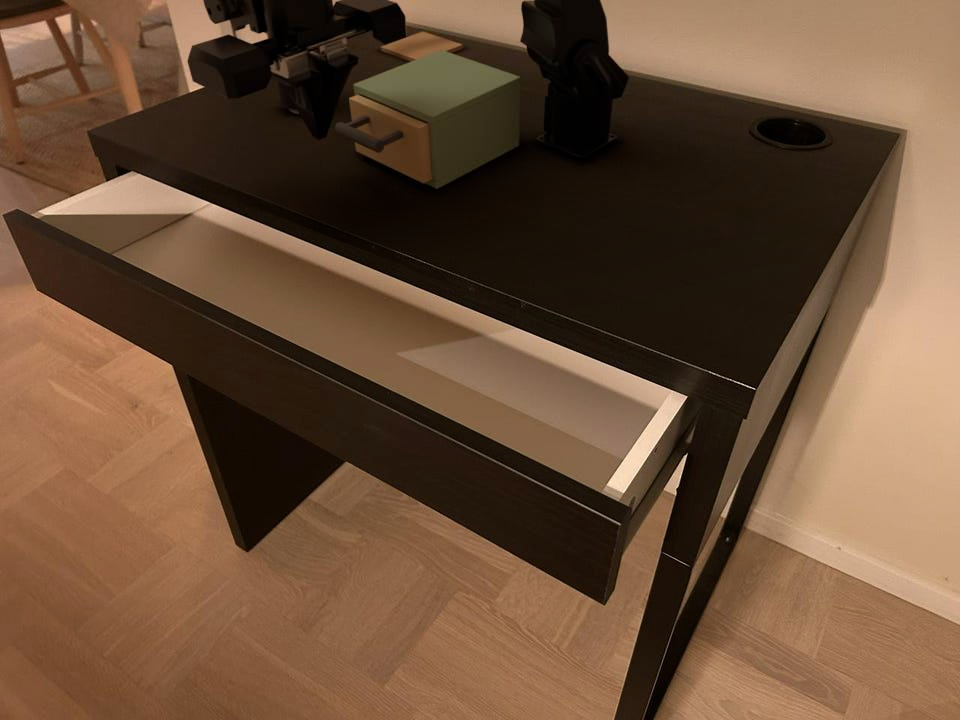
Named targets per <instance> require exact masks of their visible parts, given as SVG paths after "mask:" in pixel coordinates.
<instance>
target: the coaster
mask: <svg viewBox="0 0 960 720" xmlns="http://www.w3.org/2000/svg"><path fill="white" fill-rule="evenodd" d="M463 49H464V45H463V44H462V43H459V42H456V41H453V40H450V39H447V38H445V37H442V36H438V35H436V34H433V33H429V32H426V31H424V30H423V31H419V32H417V33H414V34H411V35H408V36H407V37H406V38H404V39H401V40H398V41H395V42H393V43H390V44H387V45H382V46H380V51H381V52H383V53H385V54H389V55H391V56H394V57H396V58H399V59H401V60H405V61H408V62H412V61H414V60H417V59H419V58H422V57H424V56H427V55H429V54H432V53H435V52H437V51H440V50H443V51H446V52H449V53H452V54H454V53H455V52H458V51H461V50H463Z"/></svg>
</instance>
